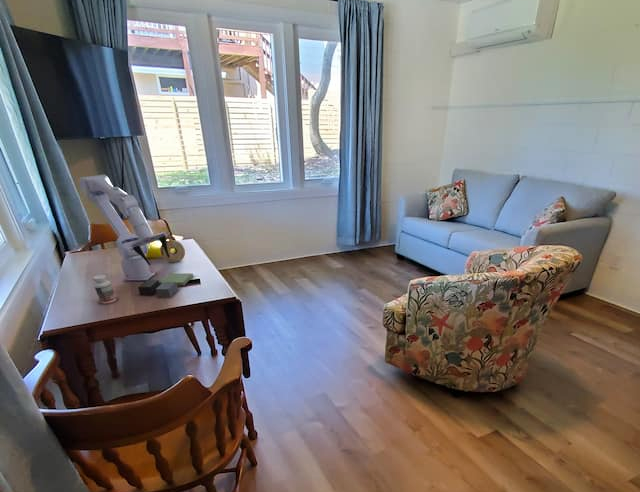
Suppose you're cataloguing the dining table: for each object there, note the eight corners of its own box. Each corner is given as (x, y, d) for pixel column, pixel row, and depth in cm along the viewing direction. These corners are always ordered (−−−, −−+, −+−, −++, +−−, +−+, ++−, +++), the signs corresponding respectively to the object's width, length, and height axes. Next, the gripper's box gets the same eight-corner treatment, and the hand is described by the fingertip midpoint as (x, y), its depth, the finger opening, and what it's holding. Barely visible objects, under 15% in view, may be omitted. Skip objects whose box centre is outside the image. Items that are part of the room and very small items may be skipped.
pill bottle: (98, 301, 151) (88, 277, 145) (113, 296, 154) (104, 272, 149) (104, 305, 148) (94, 280, 142) (119, 300, 151) (110, 276, 146)
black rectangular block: (140, 295, 155) (137, 287, 153) (149, 287, 161) (146, 280, 159) (152, 295, 155) (150, 287, 153) (161, 287, 161) (158, 280, 159)
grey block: (157, 297, 153) (155, 289, 151) (166, 289, 159) (163, 281, 157) (170, 297, 153) (168, 289, 151) (178, 289, 159) (176, 281, 157)
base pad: (160, 285, 163) (159, 282, 162) (170, 276, 172) (169, 273, 171) (184, 285, 163) (183, 282, 162) (193, 276, 171) (192, 273, 171)
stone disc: (164, 264, 184) (158, 243, 179) (163, 262, 187) (157, 241, 182) (187, 260, 189) (182, 239, 183) (186, 258, 191) (181, 237, 186)
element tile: (171, 257, 194) (168, 247, 191) (138, 259, 191) (135, 249, 188) (176, 247, 206) (174, 238, 203) (145, 250, 203) (143, 240, 201)
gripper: (119, 231, 146) (138, 266, 148) (158, 217, 150) (176, 251, 153) (123, 236, 152) (141, 269, 155) (160, 222, 157) (178, 255, 159)
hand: (159, 260), depth 154 cm, fingers open, 7 cm apart
